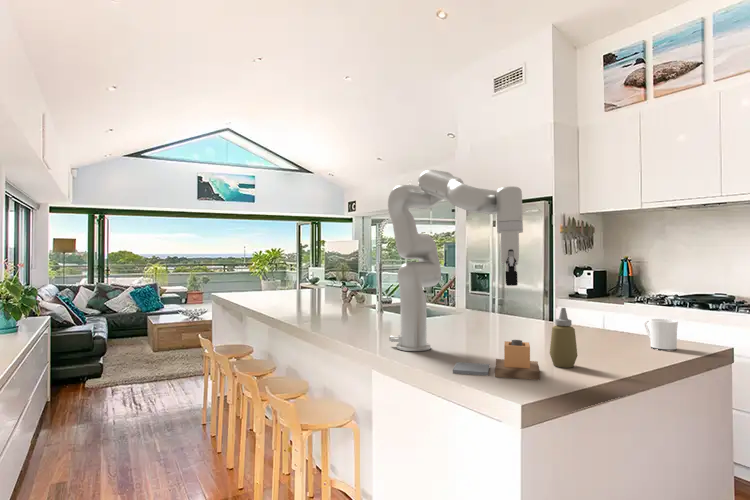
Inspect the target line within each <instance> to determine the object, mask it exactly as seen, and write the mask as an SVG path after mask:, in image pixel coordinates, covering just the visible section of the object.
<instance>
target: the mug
mask: <svg viewBox="0 0 750 500" xmlns="http://www.w3.org/2000/svg"><path fill="white" fill-rule="evenodd" d="M648 323H649V326H648ZM678 324H679V321H678V320H675V319H674V320H673V319H667V318H666V319H665V318H650V319H647V320H645V321H644V324H643V325H644V328H645V330H646V333H647V336H648V338H649V340H650V349H652V348H653V349H652V350H655V349H658V350H657V351H661V350H675V351H677V347H678V345H677V342H678V341H677V340H678V338H677V337H678ZM649 328H650V329H649Z"/></svg>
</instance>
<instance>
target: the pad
mask: <svg viewBox="0 0 750 500" xmlns="http://www.w3.org/2000/svg"><path fill="white" fill-rule="evenodd" d="M490 365H491V364H489V363H479V362H478V363H477V362H475V363H474V362H460V361H456V363H455V365H454V367H453V369H452V374H459V375H471V376H472V375H473V376H475V375H476V376H486V375H488V376H489V373H490V372H489V371H490V368H489V367H490Z"/></svg>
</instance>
